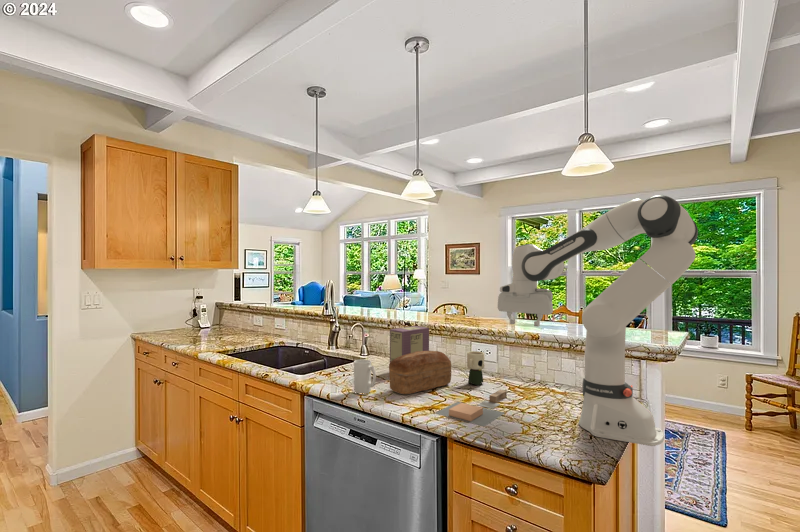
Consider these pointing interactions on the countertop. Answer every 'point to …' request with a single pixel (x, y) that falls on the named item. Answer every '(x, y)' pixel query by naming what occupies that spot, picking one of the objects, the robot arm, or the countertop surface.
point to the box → (408, 340)
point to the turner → (494, 399)
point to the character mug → (475, 366)
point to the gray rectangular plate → (481, 420)
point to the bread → (419, 371)
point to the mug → (363, 376)
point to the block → (465, 411)
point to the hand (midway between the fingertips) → (524, 325)
